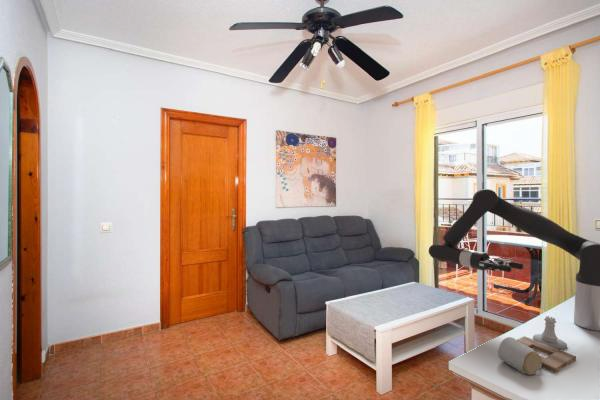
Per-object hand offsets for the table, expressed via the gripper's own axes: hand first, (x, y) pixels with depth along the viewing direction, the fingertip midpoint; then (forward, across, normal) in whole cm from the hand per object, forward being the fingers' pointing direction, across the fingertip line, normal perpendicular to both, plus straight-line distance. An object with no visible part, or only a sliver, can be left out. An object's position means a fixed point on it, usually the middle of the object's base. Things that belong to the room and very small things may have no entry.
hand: (516, 268), depth 112 cm
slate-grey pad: (+11, 0, +24) cm, 26 cm away
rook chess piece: (+10, 0, +23) cm, 25 cm away
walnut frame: (+13, -13, +24) cm, 30 cm away
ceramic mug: (+14, -26, +24) cm, 38 cm away
